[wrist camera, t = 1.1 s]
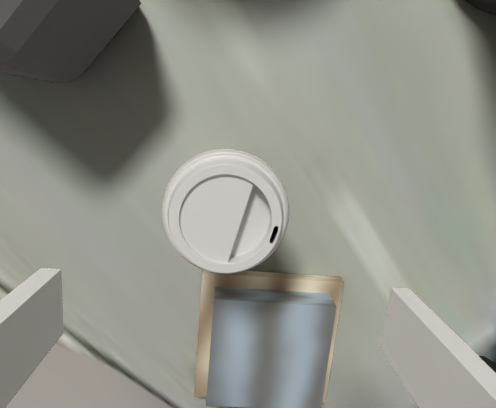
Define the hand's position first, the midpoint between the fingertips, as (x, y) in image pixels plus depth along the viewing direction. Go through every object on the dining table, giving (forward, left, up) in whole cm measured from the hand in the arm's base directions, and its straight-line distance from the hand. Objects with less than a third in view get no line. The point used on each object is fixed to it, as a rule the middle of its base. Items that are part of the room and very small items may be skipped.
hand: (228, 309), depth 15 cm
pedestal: (-6, +18, -27) cm, 32 cm away
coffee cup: (0, 0, -27) cm, 27 cm away
